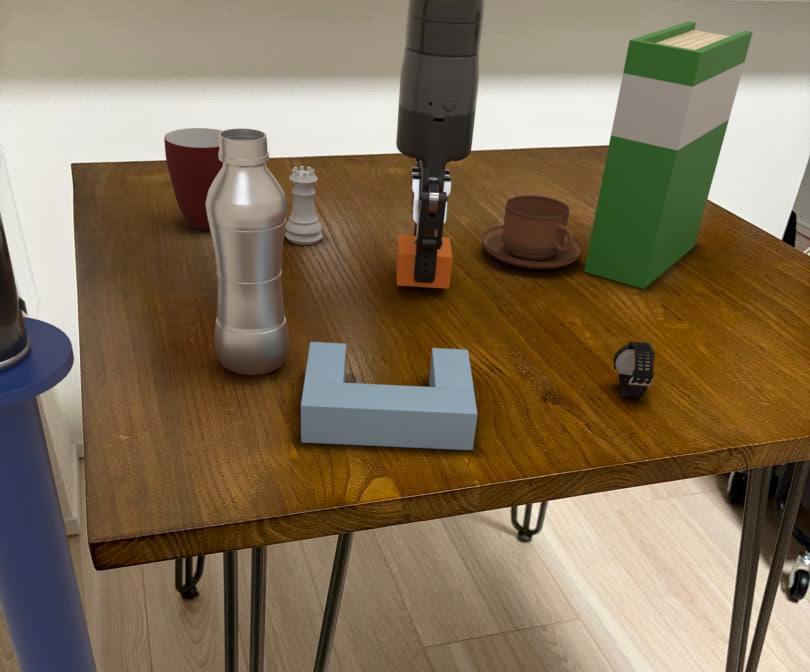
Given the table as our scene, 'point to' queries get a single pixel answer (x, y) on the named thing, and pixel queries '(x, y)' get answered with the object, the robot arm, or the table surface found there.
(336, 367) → the light blue u-shaped block
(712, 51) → the hardback book
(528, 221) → the cup and saucer
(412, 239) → the orange block
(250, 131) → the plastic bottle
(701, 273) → the table surface
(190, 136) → the mug
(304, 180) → the rook chess piece
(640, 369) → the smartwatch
